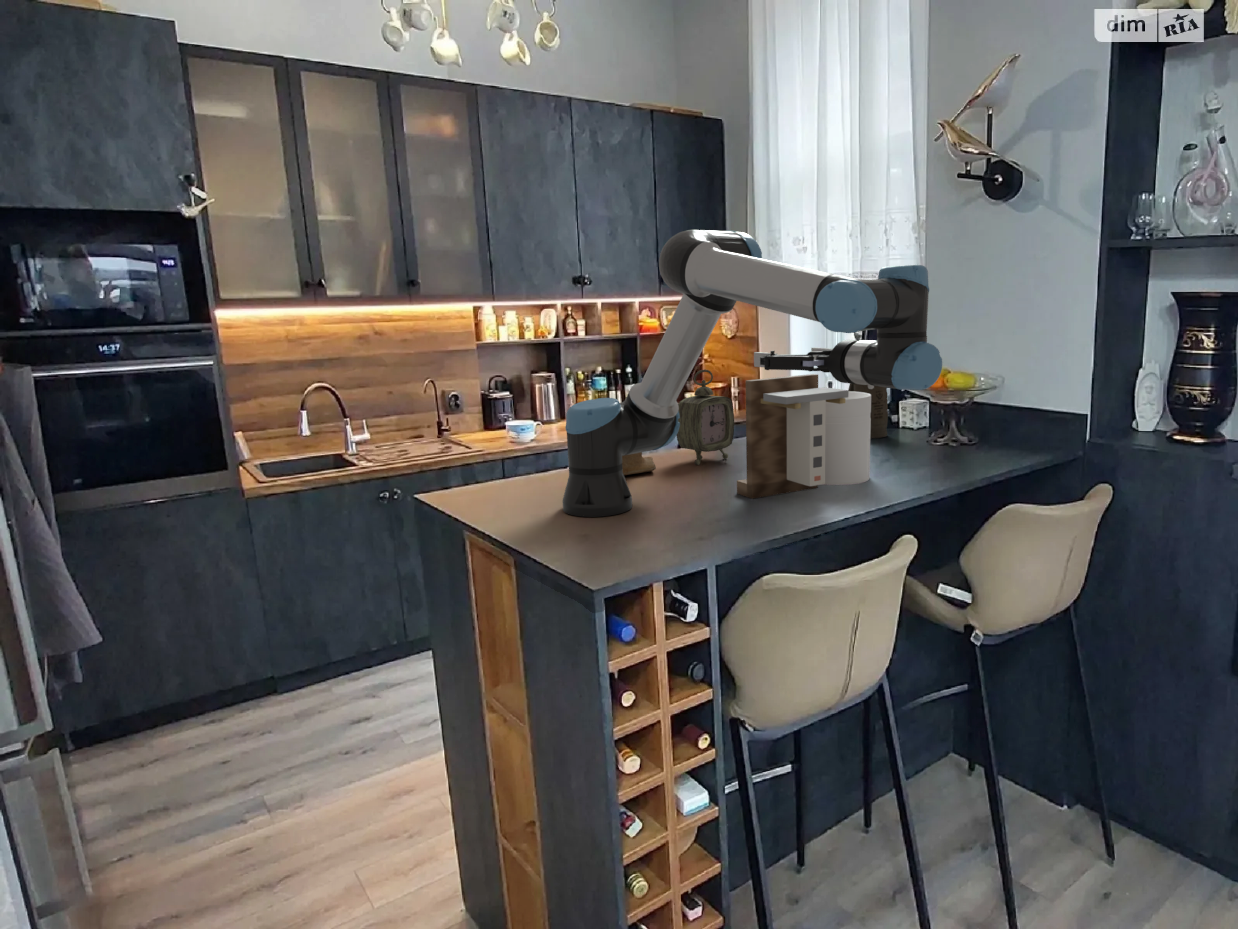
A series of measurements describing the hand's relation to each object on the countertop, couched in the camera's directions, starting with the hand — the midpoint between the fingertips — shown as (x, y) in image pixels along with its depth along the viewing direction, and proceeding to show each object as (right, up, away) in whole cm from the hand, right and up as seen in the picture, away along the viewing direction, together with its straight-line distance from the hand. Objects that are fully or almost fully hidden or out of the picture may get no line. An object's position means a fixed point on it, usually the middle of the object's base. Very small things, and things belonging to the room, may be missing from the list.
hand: (784, 356), depth 157 cm
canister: (+20, -24, +37) cm, 49 cm away
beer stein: (+43, -12, +92) cm, 102 cm away
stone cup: (-29, -24, +51) cm, 63 cm away
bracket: (+6, -28, +21) cm, 36 cm away
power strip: (+8, -25, +17) cm, 31 cm away
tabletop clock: (-9, -20, +63) cm, 67 cm away
